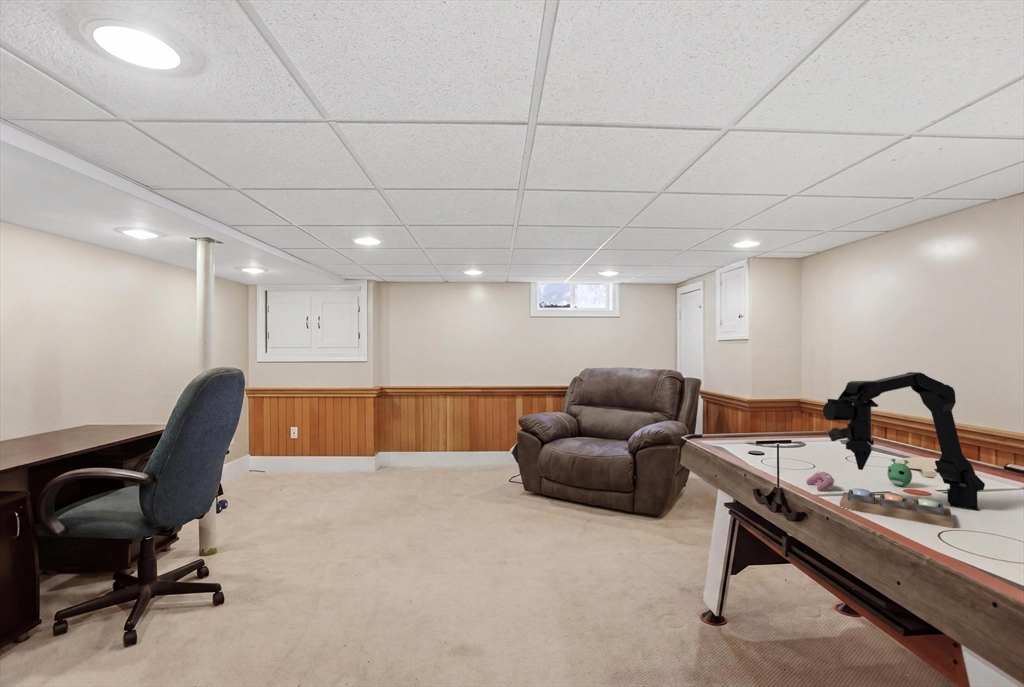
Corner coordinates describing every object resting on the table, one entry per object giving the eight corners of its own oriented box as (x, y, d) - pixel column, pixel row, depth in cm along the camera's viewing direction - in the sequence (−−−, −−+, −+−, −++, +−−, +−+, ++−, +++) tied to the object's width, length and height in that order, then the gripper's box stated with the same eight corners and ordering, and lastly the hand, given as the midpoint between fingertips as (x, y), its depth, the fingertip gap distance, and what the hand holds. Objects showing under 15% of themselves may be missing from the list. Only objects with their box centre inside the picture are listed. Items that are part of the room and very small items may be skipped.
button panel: (949, 515, 141) (949, 501, 142) (953, 527, 131) (953, 513, 131) (844, 498, 158) (844, 486, 158) (840, 508, 147) (839, 495, 148)
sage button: (938, 510, 140) (937, 500, 140) (938, 514, 136) (938, 503, 136) (918, 507, 142) (918, 497, 143) (918, 510, 139) (918, 500, 139)
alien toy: (882, 485, 175) (882, 458, 176) (894, 482, 178) (893, 456, 179) (904, 489, 169) (904, 462, 169) (916, 487, 172) (915, 460, 172)
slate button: (870, 499, 150) (870, 490, 150) (869, 502, 147) (869, 493, 147) (853, 496, 153) (853, 487, 153) (852, 500, 149) (852, 490, 149)
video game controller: (829, 496, 165) (839, 479, 165) (817, 490, 166) (826, 472, 166) (816, 488, 175) (825, 472, 175) (804, 482, 176) (813, 466, 176)
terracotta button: (903, 504, 145) (902, 495, 145) (902, 508, 141) (902, 498, 141) (884, 502, 148) (884, 492, 148) (884, 505, 144) (884, 495, 144)
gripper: (833, 415, 163) (833, 461, 162) (826, 420, 148) (826, 470, 148) (873, 418, 156) (874, 466, 155) (870, 424, 141) (871, 476, 141)
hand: (860, 469), depth 150 cm, fingers closed
